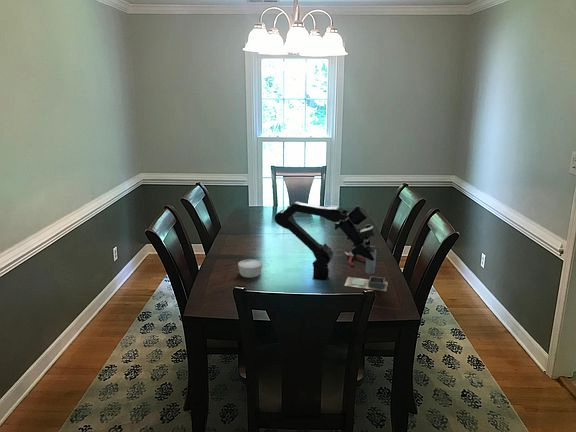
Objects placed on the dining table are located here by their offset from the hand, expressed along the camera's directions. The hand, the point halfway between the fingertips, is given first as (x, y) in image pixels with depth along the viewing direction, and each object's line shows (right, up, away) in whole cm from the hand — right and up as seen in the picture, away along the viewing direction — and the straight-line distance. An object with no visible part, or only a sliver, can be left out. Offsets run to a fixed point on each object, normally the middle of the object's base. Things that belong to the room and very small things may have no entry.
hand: (374, 258), depth 199 cm
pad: (-6, -11, +5) cm, 14 cm away
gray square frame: (+2, -12, +3) cm, 12 cm away
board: (-3, -12, +4) cm, 13 cm away
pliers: (-2, -5, +32) cm, 33 cm away
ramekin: (-55, -9, +14) cm, 57 cm away
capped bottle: (-1, -6, +2) cm, 7 cm away
